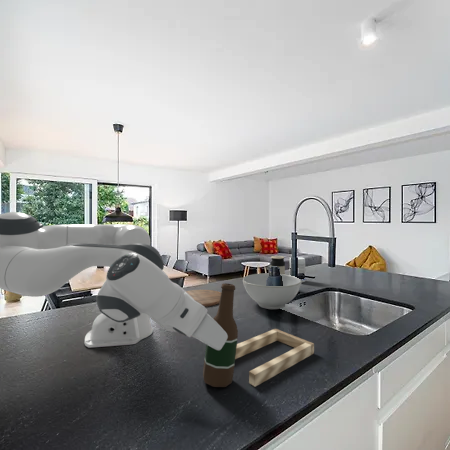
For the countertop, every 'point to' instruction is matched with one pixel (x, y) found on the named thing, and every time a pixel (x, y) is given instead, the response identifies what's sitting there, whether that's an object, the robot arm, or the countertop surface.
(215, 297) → the trivet
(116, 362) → the countertop surface
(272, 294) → the decorative bowl
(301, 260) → the supplement tub
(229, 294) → the beer bottle
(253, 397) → the countertop surface
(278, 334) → the u rest
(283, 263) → the travel mug
